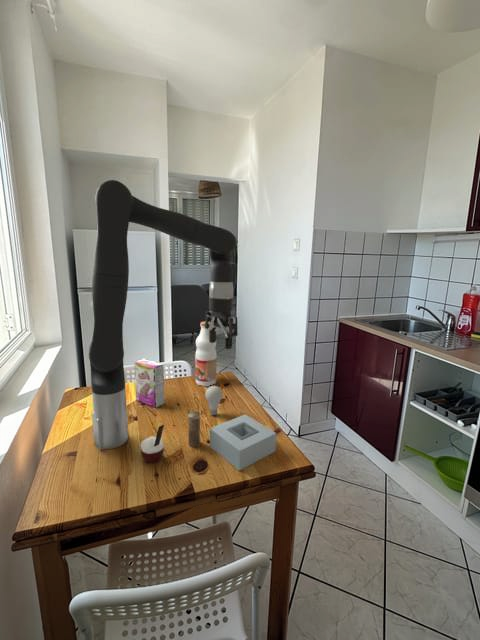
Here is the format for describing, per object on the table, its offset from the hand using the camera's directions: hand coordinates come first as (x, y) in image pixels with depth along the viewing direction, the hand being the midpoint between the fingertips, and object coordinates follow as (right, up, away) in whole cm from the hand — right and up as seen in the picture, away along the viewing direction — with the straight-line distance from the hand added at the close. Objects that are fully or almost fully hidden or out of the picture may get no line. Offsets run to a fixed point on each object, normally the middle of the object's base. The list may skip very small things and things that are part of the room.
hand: (220, 345), depth 103 cm
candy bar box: (-29, -24, +20) cm, 43 cm away
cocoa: (-18, -31, -13) cm, 39 cm away
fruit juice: (-9, -20, +40) cm, 46 cm away
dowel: (-8, -30, -6) cm, 31 cm away
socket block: (+7, -31, -8) cm, 32 cm away
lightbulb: (-3, -26, +12) cm, 29 cm away
